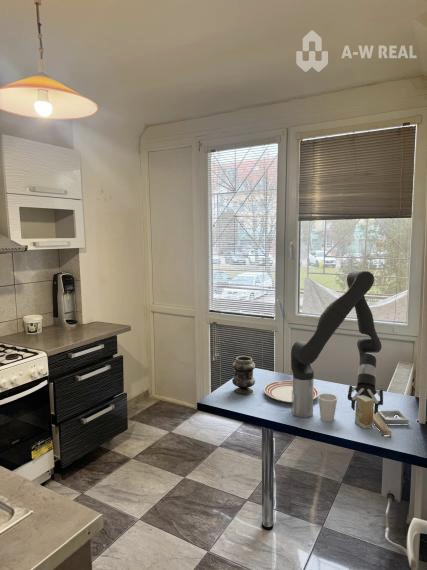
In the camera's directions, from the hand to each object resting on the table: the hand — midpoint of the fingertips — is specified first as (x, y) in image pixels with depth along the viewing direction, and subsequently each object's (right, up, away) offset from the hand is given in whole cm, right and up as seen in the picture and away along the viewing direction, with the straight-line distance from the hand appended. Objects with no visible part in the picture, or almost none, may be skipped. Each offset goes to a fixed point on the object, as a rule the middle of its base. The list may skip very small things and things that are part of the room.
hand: (364, 411), depth 166 cm
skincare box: (0, -7, +2) cm, 7 cm away
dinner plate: (-24, -3, +34) cm, 42 cm away
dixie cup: (-13, -6, +8) cm, 17 cm away
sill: (+6, -6, +1) cm, 9 cm away
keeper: (+15, -6, +6) cm, 17 cm away
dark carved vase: (-48, -3, +40) cm, 63 cm away
